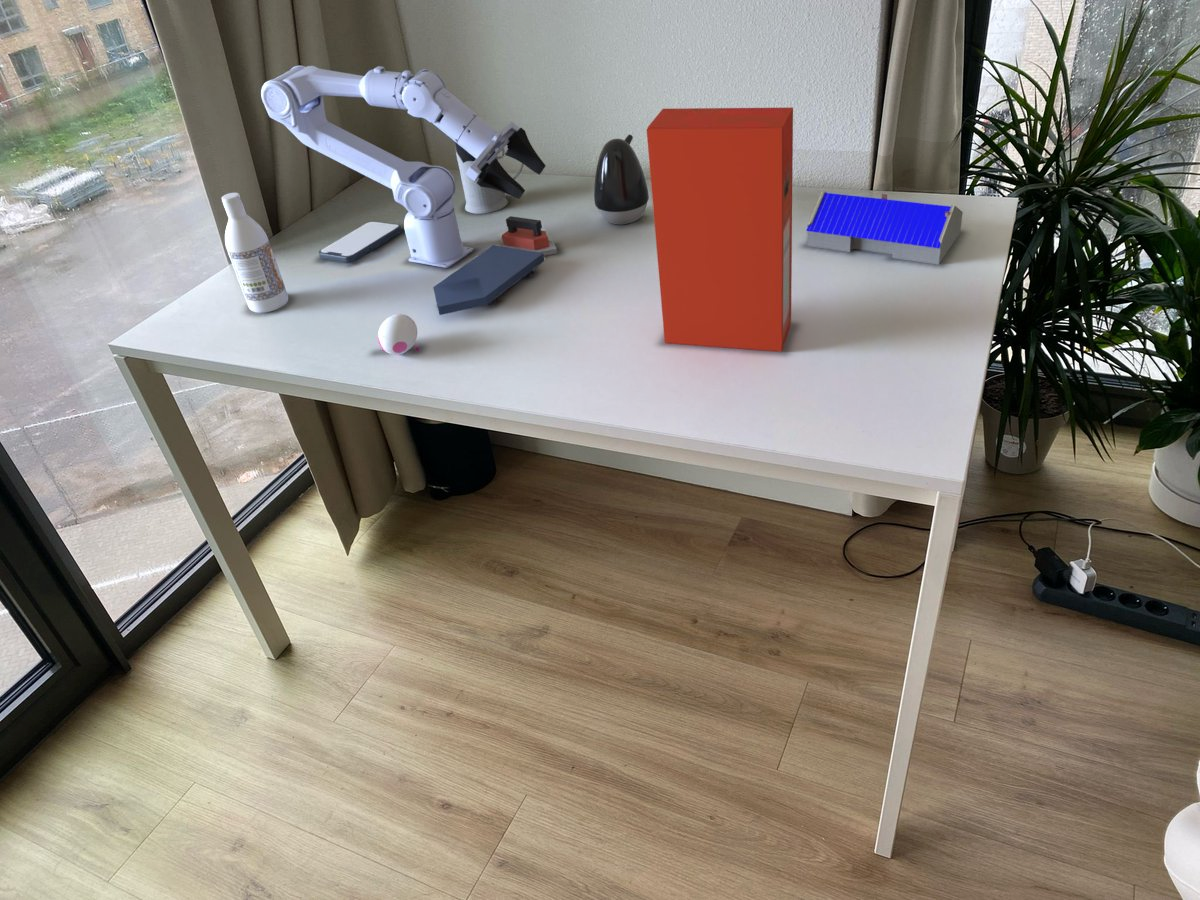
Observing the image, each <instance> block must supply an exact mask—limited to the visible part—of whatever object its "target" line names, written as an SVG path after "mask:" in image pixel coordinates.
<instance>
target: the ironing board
mask: <svg viewBox="0 0 1200 900" xmlns="http://www.w3.org/2000/svg"><path fill="white" fill-rule="evenodd" d="M544 262H545V256H544V254H543V253H539V252H533V251H527V250H521V249H514V248H508V247H502V246H501V245H494V244H493V245H491V246H490V247H488V248H487V249H485V250H484V251H482V252H481V253H480V254H478V255H477V256H475V257H474V258H472V259H471V260H470V261H468V262H466V263H465V264H464V265H462V266H460V267H459V268H458V269H457V270H455V271H454V272H452V273H451V274H449V275H448V276H447V277H445V278H444V279H442V280H441V281H439V282H438V283H437V284H435V285H434V286H433V287H432V289H433V292H434V297H435V302H436V307H437V311H438V315H439V316H443V315H446V314H447V315H448V314H451V313H457V312H460V311H465V310H466V311H467V310H470V309H475V308H479V307H484V306H488V305H489V306H494V305H495V304H496V303H497V298H499V296H501V295H502V294H503V293H504V292H506V291H507V290H508V289H510V288H511V287H512V286H514V285H516V283H518V282H519V281H520V280H521V279H523V278H524V277H528V278H529V277H532V276H533V275H534V270H535V269H536V268H537V267H539V266H540V265H542V264H543V263H544Z"/></svg>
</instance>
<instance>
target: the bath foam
mask: <svg viewBox="0 0 1200 900" xmlns="http://www.w3.org/2000/svg"><path fill="white" fill-rule="evenodd" d="M221 202H222V204H223V207H224V210H225V212H226V215H227V217H228V220H227V223H226V227H225V231H224V232H225V233H224V244H225V249H226V251H227V254H228V256H229V259H230V262H231V265H232V268H233V270H234V272H235V275H236V278H237V281H238V283H239V285H240V289H241V291H242V293H243V294H242V295H243V296H244V299H245V302H246V305H247V307H248V309H249V310H250V311H252V312H254V313H258V314H264V313H270V312H273V311H276V310H278V309H280V308H282V307H284V306H285V305H286V304H287V303H288V301H289V295H288V291H287V289H286V285H285V282H284V280H283V277H282V274H281V271H280V269H279V266H278V263H277V260H276V257H275V254H274V251H273V248H272V245H271V243H270V240H269V237H268V235H267V234H266V233H267V232H266V231H265V230H264V228H263V227H262V226H261V224H259V223H258V222H257V221H256V220H255V219H253V218H252V217H251V216H249V215H248V214H247V212H246V209H245V207H244V203H243V202H242V199H241V195H240V193H238V192H229V193H226V194H224V195H223V196H221Z"/></svg>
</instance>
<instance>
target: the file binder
mask: <svg viewBox="0 0 1200 900" xmlns="http://www.w3.org/2000/svg"><path fill="white" fill-rule="evenodd" d="M646 139H647V151H648V162H649V163H648V165H649V174H650V175H649V176H650V185H651V186H650V187H651V197H652V198H651V199H652V209H653V221H654V222H653V223H654V232H655V233H654V234H655V244H656V255H657V256H656V257H657V267H658V268H657V269H658V280H659V291H660V293H659V294H660V304H661V314H662V326H663V338H664V343H665V344H673V345H685V346H697V347H698V346H699V347H711V348H722V349H723V348H724V349H725V348H726V349H737V350H748V351H749V350H751V351H763V352H776V353H777V352H778V353H782V352H783V350H784V348H785V344H786V342H787V339H788V335H789V333H790V329H791V325H792V281H793V280H792V279H793V278H792V277H793V275H792V274H793V273H792V272H793V270H792V269H793V268H792V266H793V265H792V264H793V261H792V260H793V172H794V171H793V170H794V169H793V168H794V167H793V162H794V161H793V160H794V159H793V158H794V157H793V155H794V152H793V151H794V107H792V106H791V107H699V108H696V107H695V108H694V107H693V108H686V107H685V108H661V110H660V112H659V113H658V114H657V115H656V117H655V118H654V119H653V120H652V121H651V122H650V123H649V125H648V126H647V128H646Z"/></svg>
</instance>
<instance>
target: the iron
mask: <svg viewBox="0 0 1200 900" xmlns="http://www.w3.org/2000/svg"><path fill="white" fill-rule="evenodd" d="M505 223H506V227H507V231H505V232H504V233H503V234H501V239H502V244H501V245H500V246H502V247H508V248H514V249H521V250H527V251H533V252H539V253H543V254H544V257H545V256H550V255H555V254H558V248H557V246H556V244H555V242H554V240H549V236H548V234H547V231H546V230H542V227H543V225H542V221H541V220H540V219H533V218H527V217H526V218H525V217H519V216H513V215H512V216H511V215H510V216H508V217H507V218H505Z"/></svg>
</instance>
